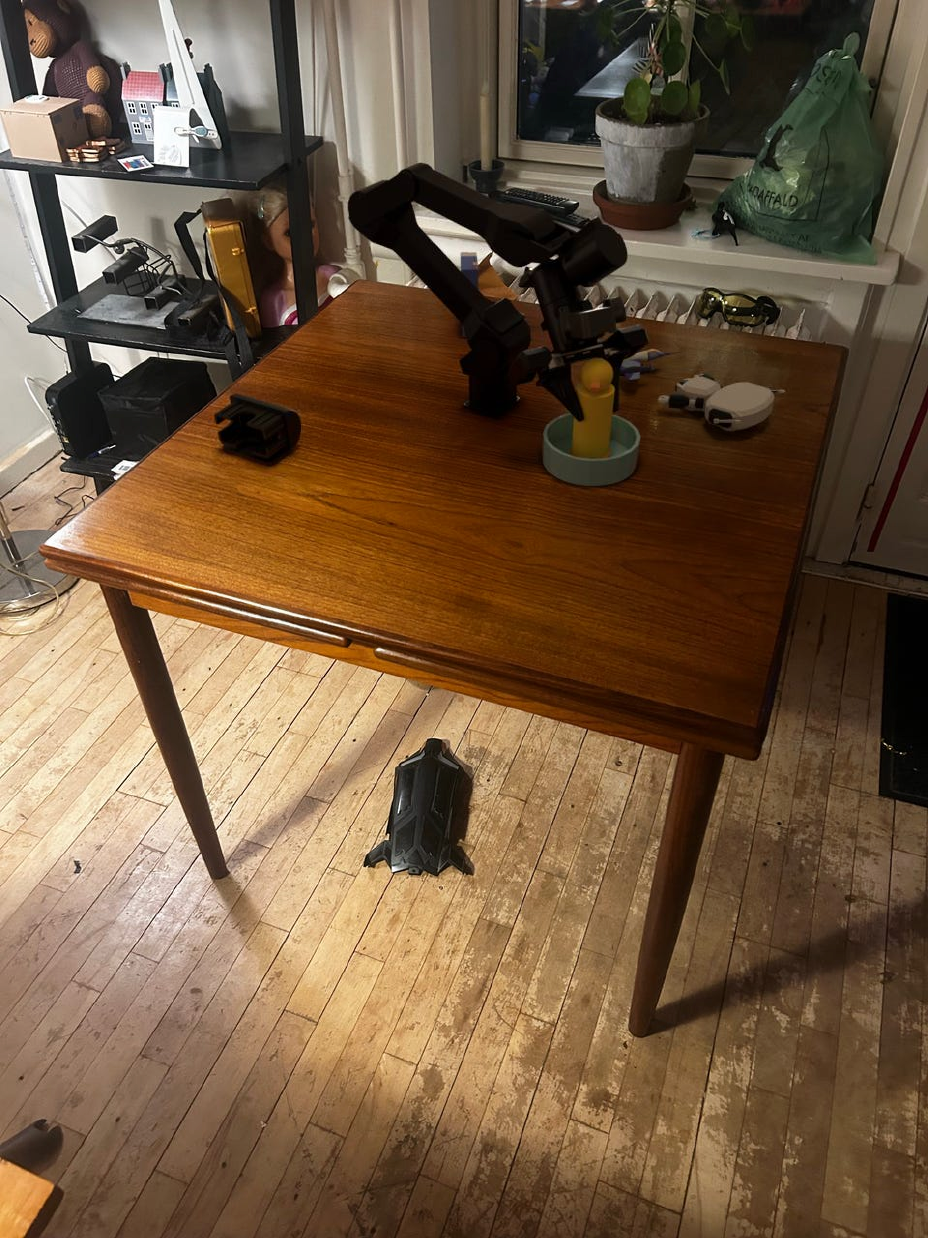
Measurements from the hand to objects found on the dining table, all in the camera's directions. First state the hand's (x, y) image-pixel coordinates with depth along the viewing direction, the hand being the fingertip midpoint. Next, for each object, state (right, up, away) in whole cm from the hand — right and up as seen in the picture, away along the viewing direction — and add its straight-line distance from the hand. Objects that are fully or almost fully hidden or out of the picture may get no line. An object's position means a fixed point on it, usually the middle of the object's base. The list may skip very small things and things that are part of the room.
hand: (598, 416), depth 123 cm
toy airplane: (+8, +12, +25) cm, 29 cm away
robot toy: (+20, +3, +15) cm, 25 cm away
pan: (0, -5, +6) cm, 8 cm away
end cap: (-47, -2, +10) cm, 48 cm away
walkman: (-17, +24, +39) cm, 49 cm away
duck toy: (-1, -4, +5) cm, 7 cm away
